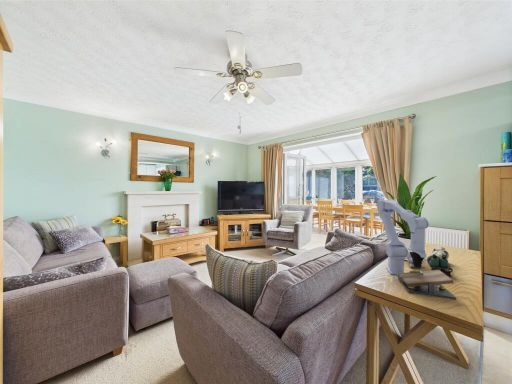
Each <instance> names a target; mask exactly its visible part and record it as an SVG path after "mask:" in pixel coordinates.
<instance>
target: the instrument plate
mask: <svg viewBox="0 0 512 384" xmlns="http://www.w3.org/2000/svg"><path fill="white" fill-rule="evenodd" d="M398 277H400V278H401V279H402V280H403V281H404V282H405V283H406V285H407V286H408V287H411V286H425V285H428V283H431V284H434V285H439V284H441V285H450V284H451V285H453V284H454V280H453V279H452V278H451V277H450V276H447V275H445V274H444V273H443V272H441V271H440V269H438V270H431V269H430V270H423V271H421V270H420V269H416V270H415V269H413V270H409V272H404V273H399V275H398Z"/></svg>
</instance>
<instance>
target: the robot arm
mask: <svg viewBox="0 0 512 384" xmlns="http://www.w3.org/2000/svg"><path fill="white" fill-rule="evenodd" d="M376 208H377V209H376V210H377V211H378V214H379V215H380V219H381V221H382V224H383V228H384V231H385V235H386V237H387V240H388V241H387V243H386V244H385V253H386V256H388V258H387V266H386V271H388V272H389V274H390V275H396V276H399V273H405V260H406V259H407V256H408V252H409V253H410V255H411V257H412V260H413V264H414V268H418V269H421V266H422V265H423V262H424V260H425V259H427V253H426V250H425V248H426V240H425V239H426V229H427V228H428V227H429V220H428V219H427V218H425V217H423V216H422V217H420V216H419V215H418V214H415V213H414V212H413V211H412V210H410V209H404V208H403V206H401V205H400V204H399V201H397V200H396V199H378V200H377V203H376ZM395 212H396V213H397V214H399V215H400V216H399V217H400V218H401V219H402V220H404V222H406V223H407V225H408V228H409V232H410V245H409V247H408V248H407V247H406V245H405V243H404V242H402V241H401V240H400V239H399V237H398V234H397V230H396V227H395V226H394V223H393V219H392V216H391V215H393V214H394V213H395ZM410 251H413V252H410Z"/></svg>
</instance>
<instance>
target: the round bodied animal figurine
mask: <svg viewBox="0 0 512 384" xmlns="http://www.w3.org/2000/svg"><path fill="white" fill-rule="evenodd" d="M409 252H413V251H410V250H409V251H408V256H407V257H406V259H407V262H408V266H409V267H410V268H415V266H414V264H413V260H412V257H411V255H410V253H409Z"/></svg>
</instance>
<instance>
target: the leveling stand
mask: <svg viewBox="0 0 512 384" xmlns="http://www.w3.org/2000/svg"><path fill="white" fill-rule="evenodd" d="M397 280H398V281H399V282H400V284H401V285H402V286H403V287H404V289H405V290H406V291H407V293H408V294H413V295H420V296H426V297H427V296H429V297H436V298H442V299H449V300H457V297H456V296H455V294H453V293H451V291H449V290H448V289H447V288H446V286H445V285H443V284H439V285H434V284H431V283H428V285H425V286H411V287H408V286H407V285H406V283H405V282H404V281H403V280H402V279H401V277H400V276H398V277H397Z"/></svg>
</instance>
